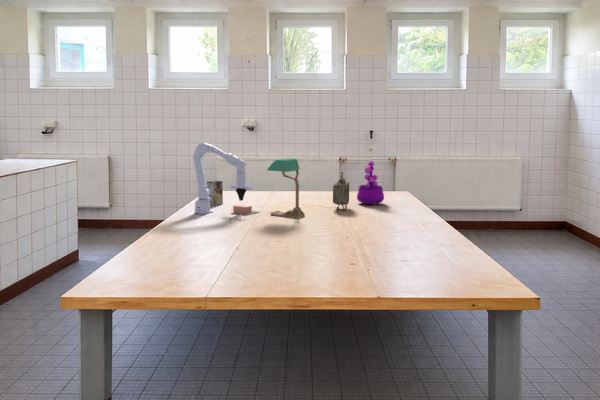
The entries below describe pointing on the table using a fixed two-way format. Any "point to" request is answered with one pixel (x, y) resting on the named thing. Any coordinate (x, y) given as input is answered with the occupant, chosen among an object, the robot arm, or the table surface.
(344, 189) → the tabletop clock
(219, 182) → the coffee box
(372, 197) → the decorative plant
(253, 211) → the mat
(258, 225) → the table surface
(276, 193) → the table surface
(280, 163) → the banker's lamp
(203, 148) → the robot arm
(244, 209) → the block
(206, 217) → the table surface
